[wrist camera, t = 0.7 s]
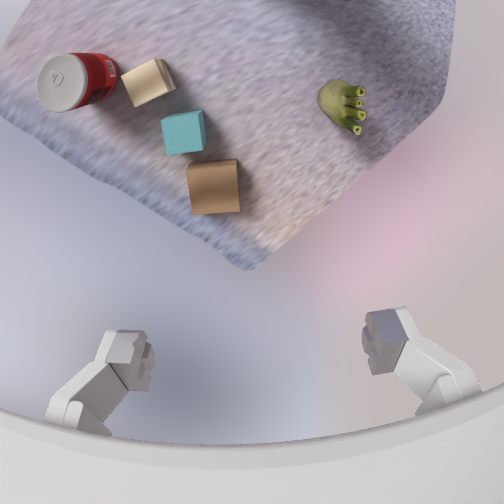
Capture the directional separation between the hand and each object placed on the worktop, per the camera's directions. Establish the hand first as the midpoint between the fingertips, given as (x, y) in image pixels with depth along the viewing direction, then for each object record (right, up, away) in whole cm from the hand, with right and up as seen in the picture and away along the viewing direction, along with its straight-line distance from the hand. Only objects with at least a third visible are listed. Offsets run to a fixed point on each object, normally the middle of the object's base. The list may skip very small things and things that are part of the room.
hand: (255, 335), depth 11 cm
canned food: (-23, +29, +25) cm, 45 cm away
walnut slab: (-6, +14, +36) cm, 39 cm away
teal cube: (-9, +21, +31) cm, 38 cm away
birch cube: (-14, +27, +27) cm, 41 cm away
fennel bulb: (+11, +25, +29) cm, 40 cm away
